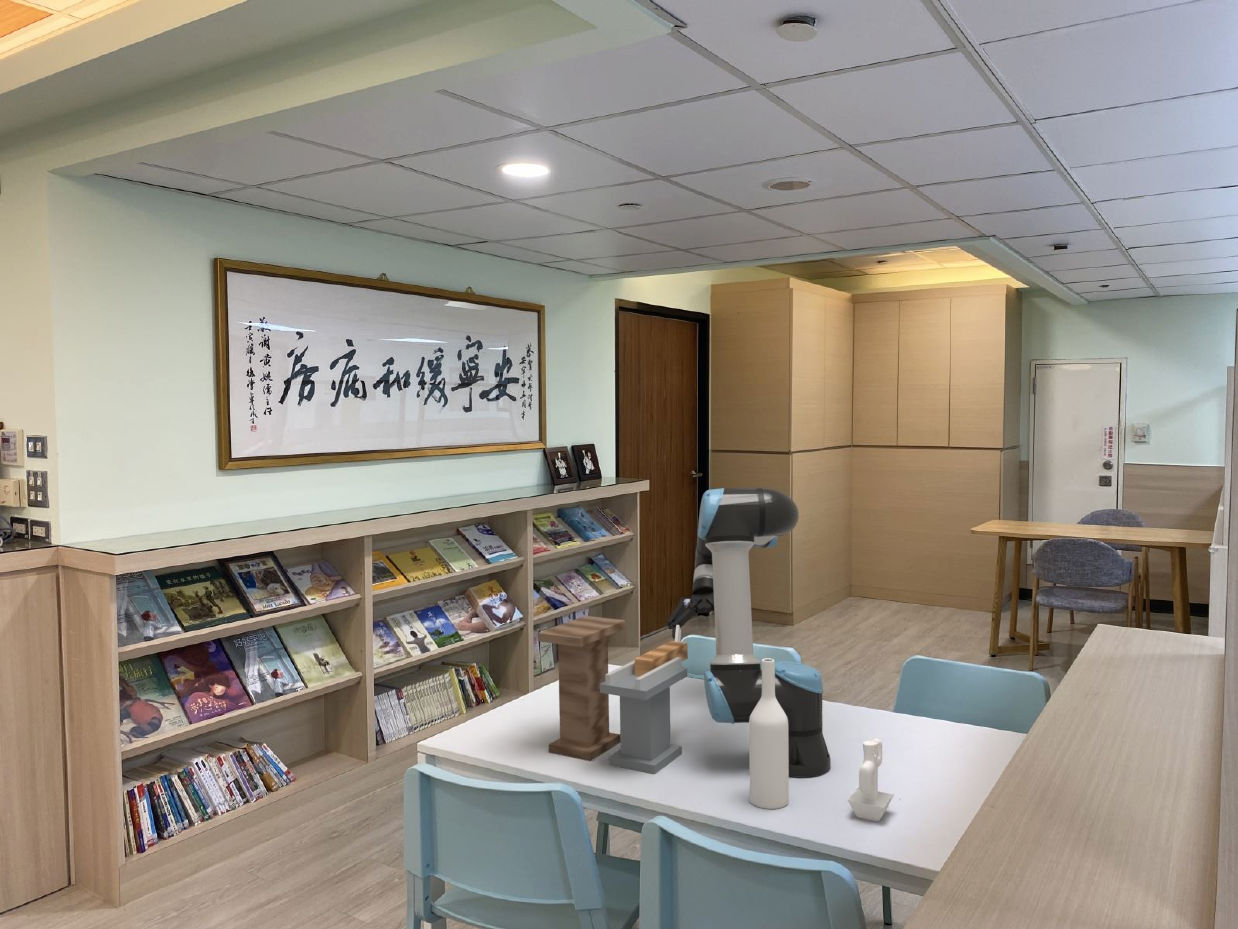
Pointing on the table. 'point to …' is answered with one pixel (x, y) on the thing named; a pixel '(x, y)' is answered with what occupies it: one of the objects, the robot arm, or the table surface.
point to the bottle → (768, 746)
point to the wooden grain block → (660, 656)
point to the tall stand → (583, 686)
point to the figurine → (870, 785)
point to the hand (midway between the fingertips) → (701, 646)
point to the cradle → (644, 715)
